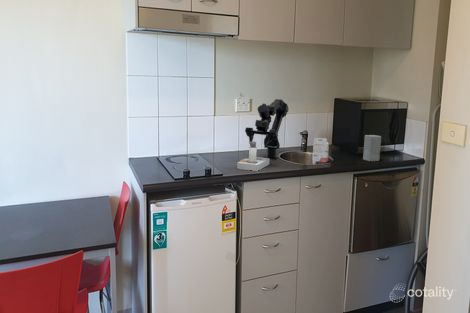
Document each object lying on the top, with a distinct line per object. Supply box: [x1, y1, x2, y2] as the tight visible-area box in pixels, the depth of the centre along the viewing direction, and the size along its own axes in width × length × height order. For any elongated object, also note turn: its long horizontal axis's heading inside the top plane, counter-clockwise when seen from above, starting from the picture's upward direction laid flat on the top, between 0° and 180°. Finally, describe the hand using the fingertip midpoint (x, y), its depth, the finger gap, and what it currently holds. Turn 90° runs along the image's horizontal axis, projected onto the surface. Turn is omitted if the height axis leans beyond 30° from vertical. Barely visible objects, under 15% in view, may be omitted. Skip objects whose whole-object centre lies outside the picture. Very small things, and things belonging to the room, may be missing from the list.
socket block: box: [236, 156, 271, 172], centre depth 244 cm, size 20×12×4 cm, turn 156°
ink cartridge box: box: [312, 137, 330, 163], centre depth 262 cm, size 9×5×15 cm, turn 62°
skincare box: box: [362, 134, 382, 162], centre depth 268 cm, size 8×7×16 cm
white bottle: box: [248, 140, 257, 164], centre depth 238 cm, size 4×4×15 cm
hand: (257, 144), depth 243 cm, fingers open, 9 cm apart
